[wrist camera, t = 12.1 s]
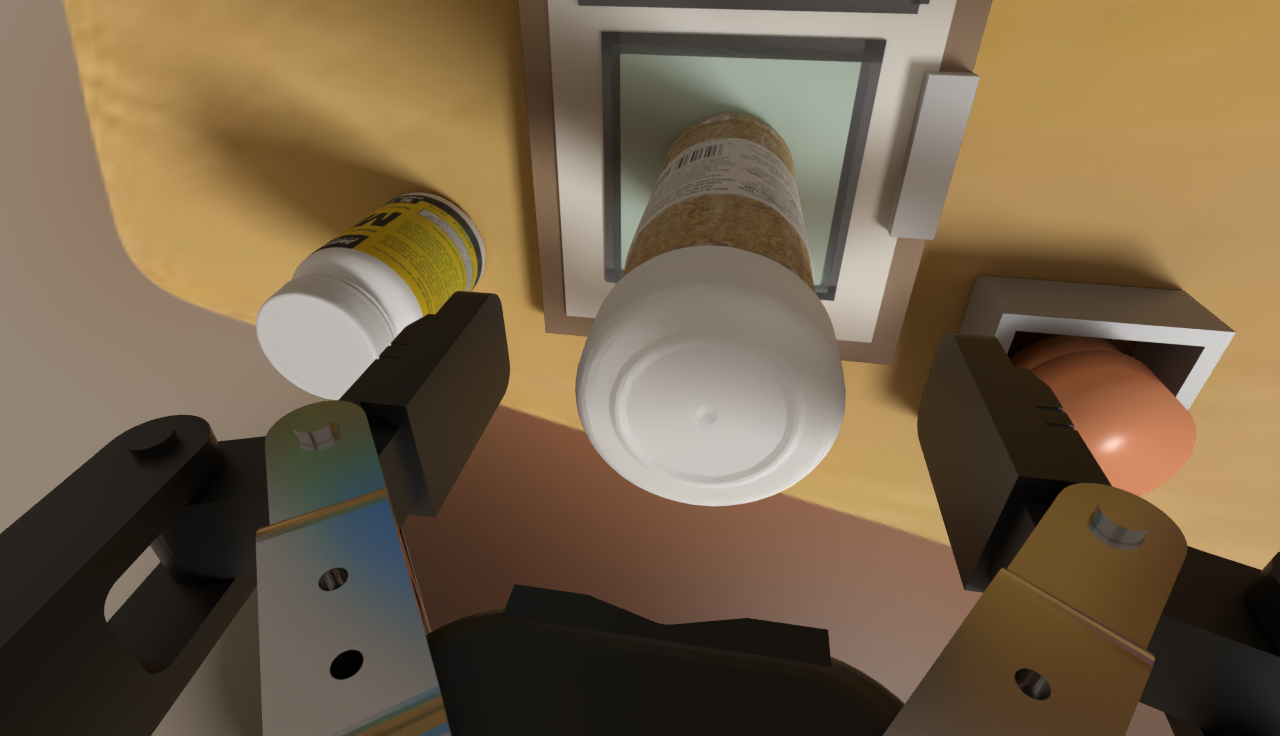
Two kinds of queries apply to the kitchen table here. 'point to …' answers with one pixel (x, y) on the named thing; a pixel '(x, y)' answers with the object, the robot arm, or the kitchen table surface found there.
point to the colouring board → (775, 94)
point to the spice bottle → (715, 330)
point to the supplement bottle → (368, 291)
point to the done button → (1115, 409)
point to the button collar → (1107, 323)
